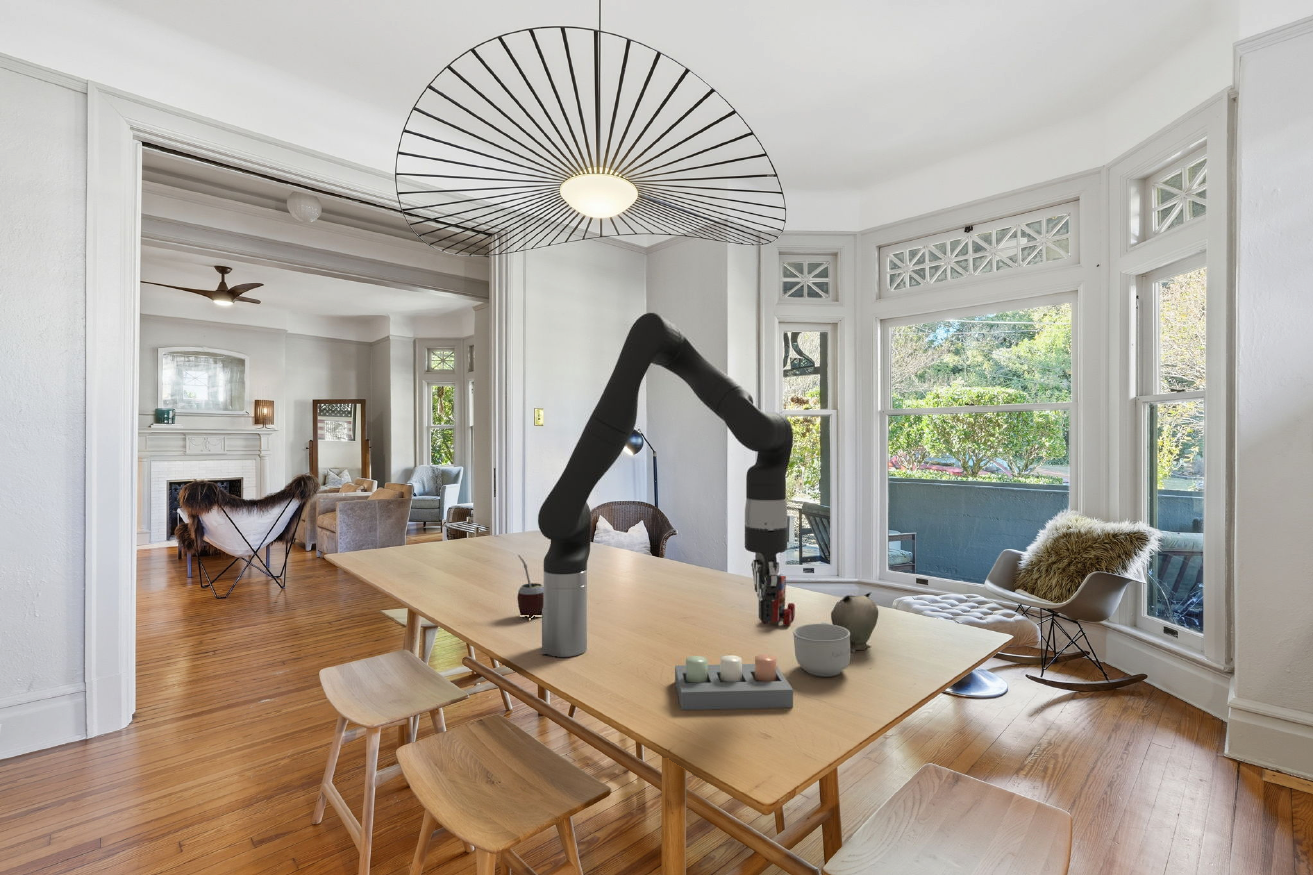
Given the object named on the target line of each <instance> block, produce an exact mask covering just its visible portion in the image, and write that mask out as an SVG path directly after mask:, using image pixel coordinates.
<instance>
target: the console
mask: <svg viewBox="0 0 1313 875" xmlns="http://www.w3.org/2000/svg"><path fill="white" fill-rule="evenodd" d="M674 671H675V672H674V681H675V687H676V691H677V696H678V701H679V705H680V710H681V711H696V710H697V711H701V710H702V711H703V710H704V711H705V710H741V709H743V710H744V709H775V708H780V709H781V708H793V707H794V689H793V687H792V686H791V685H790V683H789V681H788V680H787V678H786V677H785V675H784V674H783V673H782V671H781V669H780V668H779V666H778V665H777V664H776V681H764V682H756V681H755V663H742V682H720V664H707V683H686V664H683V665H682V664H681V665H680V664H679V665H674Z"/></svg>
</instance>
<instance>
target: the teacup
mask: <svg viewBox="0 0 1313 875" xmlns="http://www.w3.org/2000/svg"><path fill="white" fill-rule="evenodd" d="M792 634H793V645H794V654H795V659H796V662H797V664H798V665H799V666H800V668H802V669H803V670H805V672H807V673H808V674H809V675H813V676H816V677H824V678H825V677H834V676H837V675H840V674H841V673H842V671H844V670H846V669H847V667H848V666H849V664H850V660H851V652H850V632H849V630H847V629H846V628H844V627H841V626H837V625H833V624H830V623H829V622H828V621H822V622H821V623H809V624H803V625H799V626H797V627H795V628H793V630H792Z"/></svg>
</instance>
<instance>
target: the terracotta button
mask: <svg viewBox="0 0 1313 875" xmlns="http://www.w3.org/2000/svg"><path fill="white" fill-rule="evenodd" d="M754 664H755V681H756V682H764V681H776V665H777V658H776V656H773V655H770V654H757V655H755V656H754Z"/></svg>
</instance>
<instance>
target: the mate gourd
mask: <svg viewBox="0 0 1313 875" xmlns="http://www.w3.org/2000/svg"><path fill="white" fill-rule="evenodd" d="M518 558H519V559H520V561H521V562H522V564H523V568H524V571H525V576H526V579H527V582H528V583H525V584H522V585H521V586H520V587H519V589H518V593H517V604H518V610H519V613H520V614H519V615H529V618H531V617H532V616H533V615H542V609H543V607H544V585H542V584H541V583H537V582H534V583H532V582H531V579H530V576H529V571H528V564H527V563H526V561H525V560H524V559H523V557H522V556H521V555H520V554H518Z"/></svg>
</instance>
